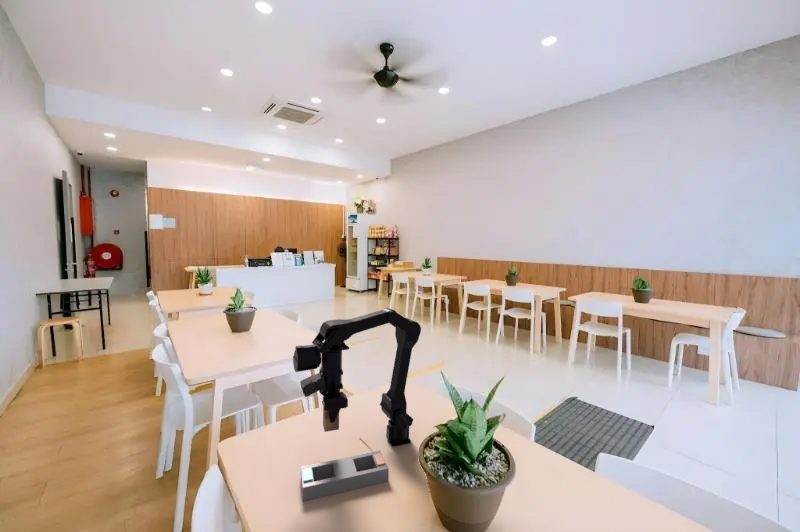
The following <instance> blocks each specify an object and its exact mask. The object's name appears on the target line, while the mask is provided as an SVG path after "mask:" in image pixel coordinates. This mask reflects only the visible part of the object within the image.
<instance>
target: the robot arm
mask: <svg viewBox="0 0 800 532" xmlns="http://www.w3.org/2000/svg"><path fill="white" fill-rule="evenodd" d="M386 324H389V325H391V326H393V327H394V328H395V331H394V332H395V334H394V335H395V340H396V345H397V346H396V352H395V357H394V363H393V368H392V373H391V380H390V385H389V386H390V387H389V389H388V390H387V391H386V392H382V394H381V401H380V403H379V405H380V408H381V409H380V410H381V411H382V412H383V414H384V415H385V416H386V418H388V420H387V425H386V439H387V441H388V442H389V444H390V446H391V447H398V446H399V447H400V446H404V445H408V444H411V443H412V440H411V439H410V427H411V426H413V422H414V418H413V417H412V416H411V415H409V414H408V413H407V410H408V409H407V407H408V405H407V403H408V402H407V398H406V393H405V392H406V391H405V390H406V386H407V380H408V375H409V369H410V363H411V357H412V350H413V348H414V347H415V345H417V343H418V341H419V337H420V336H421V333H422V327H421V325H420V323H419V322H417V321H416V320H413V319H410V318H407V317H404V316H403V315H401V314H399V313H398V312H397V311H396V310H395V309H392V308H389V307H385V308H383V309H381V310H377V311H373V312H370V313H366V314H364V315H360V316H357V317H353V318H347V319H339V318H338V319H331V320H330V319H329V320H326V321H323V323H322V324H321V326H320V328H319V332H318V333H317V335H316V336H315V337H314V339H313V340H312V342H311V344H306V345H296V346H295V347H294V348H295V349H294V352H293V356H292V365H293V369H294V371H295V373H299V372H305V371H312V370H317V369H318V368H319V367H320V368H319V372H318V373H316V374H313V375H310V376H308V377H305V378H304V379H302V380H301V381H300V382H299V383H300V384H299V385H300V388H301V390H302V391H301V392H302V393H303V395H304V397H307V398H308V397H310V396H311V395H313V394H316V393H317V392H318V391H319V394H320V395H322V396H323V397H322V401H321V403H322V408H323V407H324V410H326V411H328V413H329V418H330V423H333V422H335V419H336V417H337V415H338V413H339V414H340V411H341V409H347V408H348V407H349V399H348V396H347V394H345V392H343V391H341V390H343V389H344V385H343V382H342V380H343V379H342V378H343V375H344V370H343V351H347V350H350V347H349V346H348V345H347V344H346V343H345V341H347V340H349V339H350V338H351V337H352V336H353V335H356V334H358V333H361V332H365V331H367V330H371V329H374V328H377V327H380V326H384V325H386Z"/></svg>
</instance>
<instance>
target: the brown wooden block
mask: <svg viewBox="0 0 800 532" xmlns="http://www.w3.org/2000/svg"><path fill="white" fill-rule="evenodd" d="M322 426H323V431H324V433H325V432H332V431H338V430H340V412H339V413H338V415H337V417H336V419H335V422H333V423H330V418H329V413H328V411H326V410H324V407H323V406H322Z"/></svg>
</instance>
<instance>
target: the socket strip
mask: <svg viewBox="0 0 800 532" xmlns="http://www.w3.org/2000/svg"><path fill="white" fill-rule="evenodd" d="M368 468H369V469H368ZM364 469H365V470H364ZM389 469H390V468H389V466H388V463H387V462H386V460H385V458H384V456H383V453H382V452H381V450H377V451H372V452H365V453H361V454H358V455H357V454H356V455H352V456H347V457H342V458H341V457H340V458H338V459H333V460H328V461H327V460H326V461H323V462H318V463H312V464H308V465H307V464H306V465H303V466H300V486H301V496H302V502H306V501H310V500H314V499H320V498H323V497H326V496H327V497H328V496H332V495H336V494H340V493H344V492H348V491H352V490H355V489H360V488H364V487H369V486H373V485H378V484H382V483H385V482H386V483H387V482H389V472H390V471H389ZM359 470H361V471H359ZM331 476H332V477H331ZM327 477H329V478H327ZM324 478H325V479H324ZM315 480H317V481H315Z"/></svg>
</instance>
